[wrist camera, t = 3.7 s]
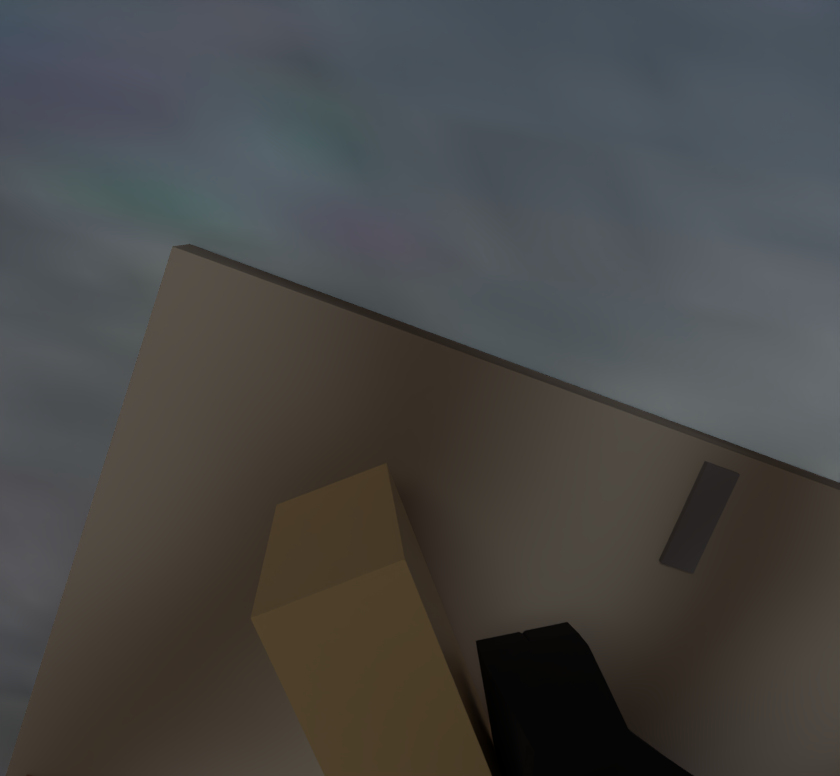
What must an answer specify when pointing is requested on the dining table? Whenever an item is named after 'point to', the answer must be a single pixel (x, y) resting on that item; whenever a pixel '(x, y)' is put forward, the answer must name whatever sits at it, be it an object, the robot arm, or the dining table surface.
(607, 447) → the post board
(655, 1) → the dining table surface
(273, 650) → the lever with round base
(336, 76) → the dining table surface
